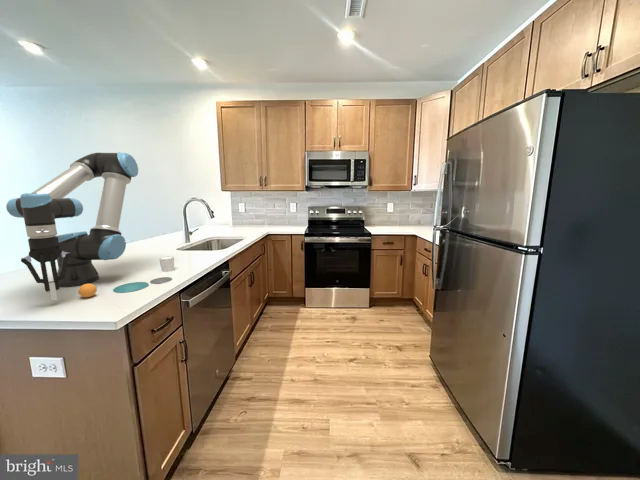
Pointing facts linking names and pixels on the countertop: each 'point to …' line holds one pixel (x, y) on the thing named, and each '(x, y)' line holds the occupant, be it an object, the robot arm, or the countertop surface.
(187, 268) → the countertop surface
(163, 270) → the shot glass
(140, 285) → the disc
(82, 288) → the ball
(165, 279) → the disc
